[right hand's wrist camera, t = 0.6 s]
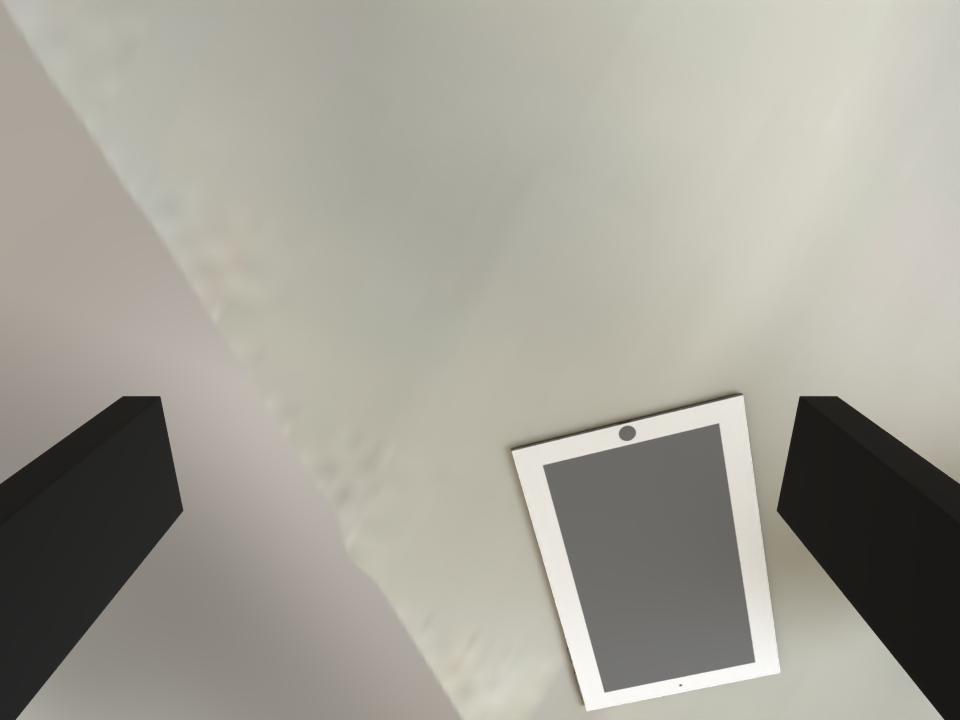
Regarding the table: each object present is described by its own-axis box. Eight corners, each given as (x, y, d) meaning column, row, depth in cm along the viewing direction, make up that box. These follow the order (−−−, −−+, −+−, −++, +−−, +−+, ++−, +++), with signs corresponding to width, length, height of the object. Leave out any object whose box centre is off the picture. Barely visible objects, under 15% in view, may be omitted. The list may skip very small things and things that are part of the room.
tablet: (778, 669, 61) (780, 673, 61) (584, 708, 63) (585, 711, 63) (741, 392, 51) (743, 394, 50) (509, 449, 52) (509, 451, 52)
